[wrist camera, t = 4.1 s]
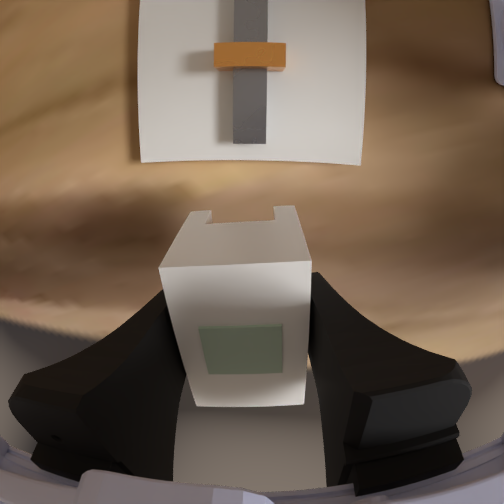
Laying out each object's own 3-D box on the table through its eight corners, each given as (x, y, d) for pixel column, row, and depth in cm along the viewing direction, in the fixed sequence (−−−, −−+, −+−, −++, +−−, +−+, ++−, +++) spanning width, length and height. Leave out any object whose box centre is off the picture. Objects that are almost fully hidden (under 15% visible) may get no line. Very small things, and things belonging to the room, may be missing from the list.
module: (294, 205, 12) (312, 262, 8) (294, 328, 15) (304, 406, 11) (190, 211, 12) (157, 269, 8) (210, 331, 15) (196, 408, 11)
